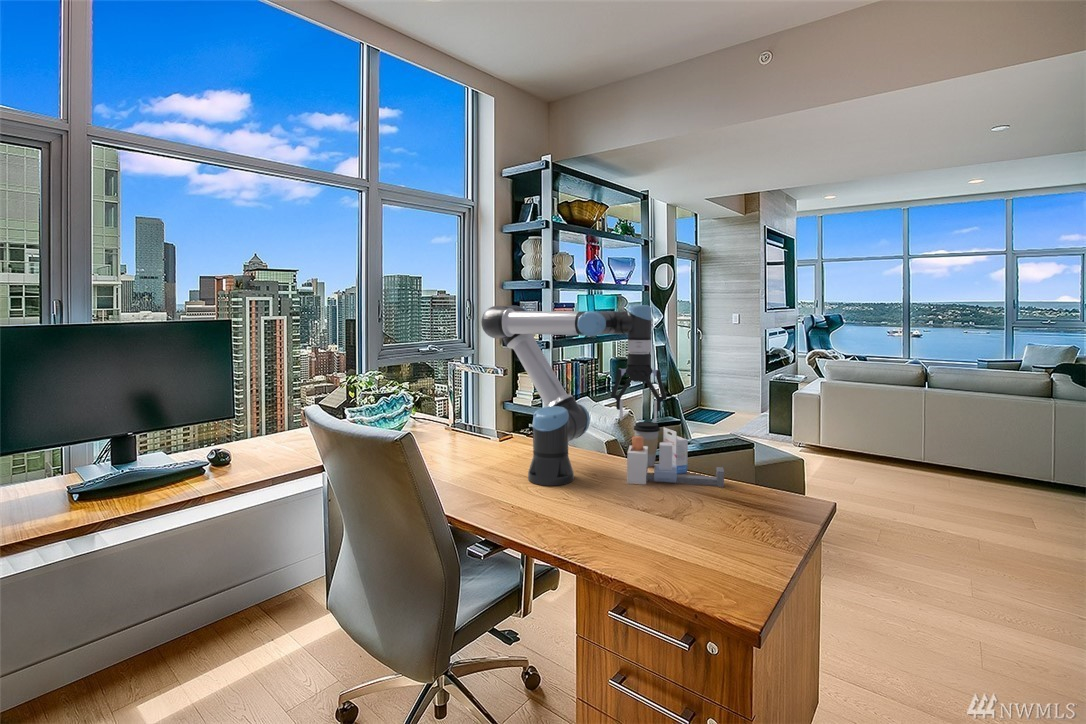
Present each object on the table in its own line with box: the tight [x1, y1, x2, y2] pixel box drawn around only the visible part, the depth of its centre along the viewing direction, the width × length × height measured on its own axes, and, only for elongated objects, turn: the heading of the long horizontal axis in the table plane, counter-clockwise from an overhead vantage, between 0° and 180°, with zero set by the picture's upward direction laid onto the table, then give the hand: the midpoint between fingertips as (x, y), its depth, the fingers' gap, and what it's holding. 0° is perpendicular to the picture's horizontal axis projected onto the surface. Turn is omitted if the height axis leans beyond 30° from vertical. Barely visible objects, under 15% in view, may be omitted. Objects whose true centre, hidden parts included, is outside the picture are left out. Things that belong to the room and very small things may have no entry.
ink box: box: [662, 426, 689, 475], centre depth 188 cm, size 8×5×15 cm, turn 20°
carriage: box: [653, 441, 678, 483], centre depth 176 cm, size 7×9×12 cm
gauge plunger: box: [631, 435, 644, 451], centre depth 177 cm, size 4×4×4 cm
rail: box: [646, 466, 725, 488], centre depth 175 cm, size 24×5×5 cm, turn 76°
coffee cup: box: [633, 421, 661, 468], centre depth 195 cm, size 9×9×15 cm
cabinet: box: [626, 444, 649, 485], centre depth 178 cm, size 6×10×10 cm, turn 166°
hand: (638, 420), depth 177 cm, fingers open, 10 cm apart
